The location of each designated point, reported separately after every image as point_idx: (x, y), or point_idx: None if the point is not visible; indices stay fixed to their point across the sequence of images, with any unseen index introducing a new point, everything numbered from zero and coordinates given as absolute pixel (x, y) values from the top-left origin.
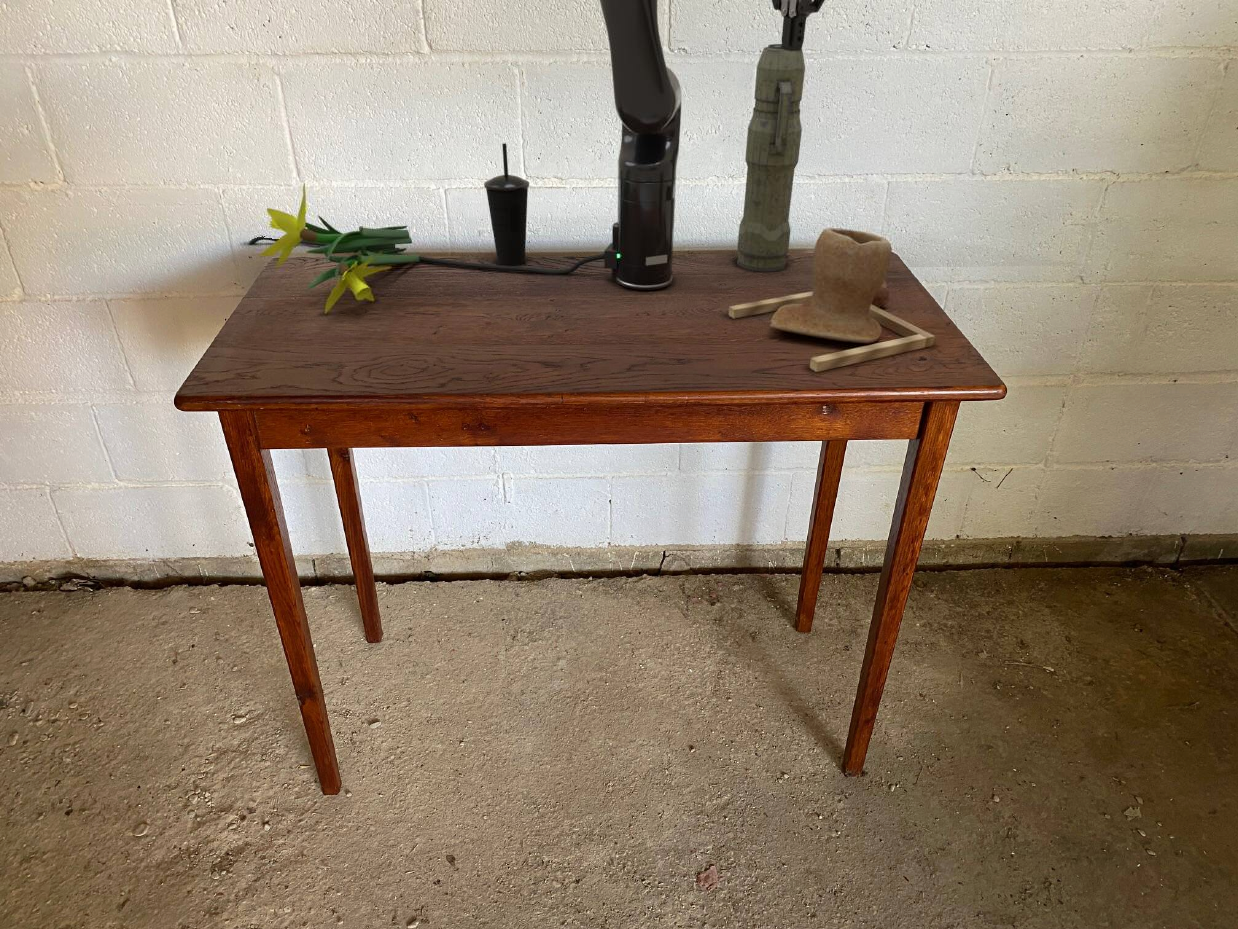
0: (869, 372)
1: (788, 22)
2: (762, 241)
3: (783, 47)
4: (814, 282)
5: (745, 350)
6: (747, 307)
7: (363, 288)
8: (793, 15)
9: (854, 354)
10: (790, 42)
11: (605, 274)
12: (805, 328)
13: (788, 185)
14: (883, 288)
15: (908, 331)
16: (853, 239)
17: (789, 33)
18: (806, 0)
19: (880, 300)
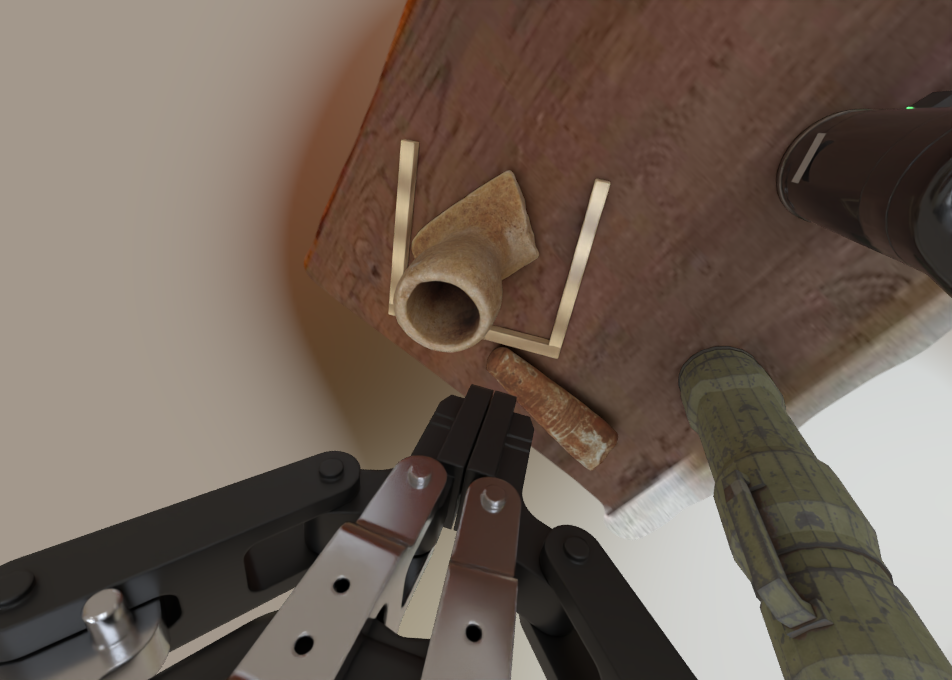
0: (377, 195)
1: (459, 450)
2: (708, 375)
3: (504, 394)
4: (481, 244)
5: (504, 107)
6: (588, 204)
7: None
8: (406, 457)
9: (397, 199)
10: (462, 402)
11: None
12: (469, 197)
13: (710, 462)
14: (489, 368)
15: None
16: (470, 333)
17: (456, 416)
18: (269, 485)
19: (489, 355)
